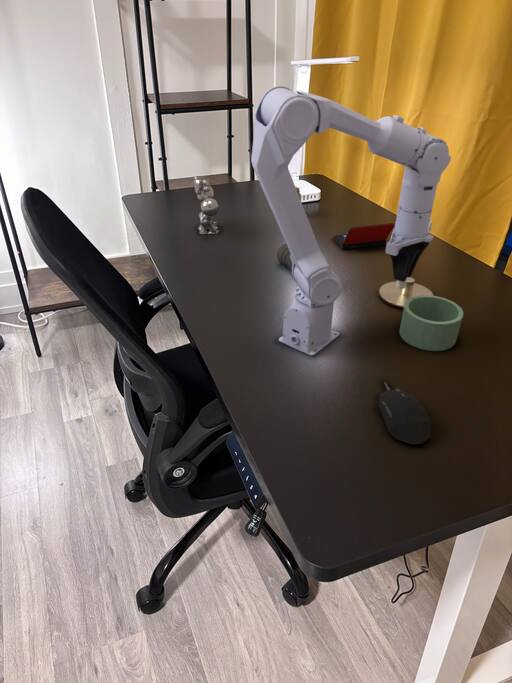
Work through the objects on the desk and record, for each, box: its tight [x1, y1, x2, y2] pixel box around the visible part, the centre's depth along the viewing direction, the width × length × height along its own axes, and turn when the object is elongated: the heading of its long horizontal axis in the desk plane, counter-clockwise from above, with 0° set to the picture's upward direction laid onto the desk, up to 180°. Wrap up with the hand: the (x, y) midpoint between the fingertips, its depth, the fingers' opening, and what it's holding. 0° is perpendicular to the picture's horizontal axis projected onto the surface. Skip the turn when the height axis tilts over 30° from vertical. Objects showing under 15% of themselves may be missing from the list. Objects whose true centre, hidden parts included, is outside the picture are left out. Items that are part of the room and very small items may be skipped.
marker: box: [396, 279, 407, 289], centre depth 94 cm, size 2×2×8 cm
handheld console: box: [332, 222, 395, 250], centre depth 132 cm, size 12×11×7 cm
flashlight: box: [276, 243, 292, 271], centre depth 118 cm, size 15×5×5 cm, turn 25°
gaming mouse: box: [377, 381, 432, 445], centre depth 78 cm, size 6×15×4 cm, turn 6°
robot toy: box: [193, 175, 220, 235], centre depth 136 cm, size 15×6×15 cm, turn 12°
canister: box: [399, 295, 464, 352], centre depth 96 cm, size 11×11×6 cm
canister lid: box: [378, 276, 435, 309], centre depth 109 cm, size 12×12×4 cm
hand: (402, 277), depth 95 cm, fingers closed on marker, 2 cm apart
